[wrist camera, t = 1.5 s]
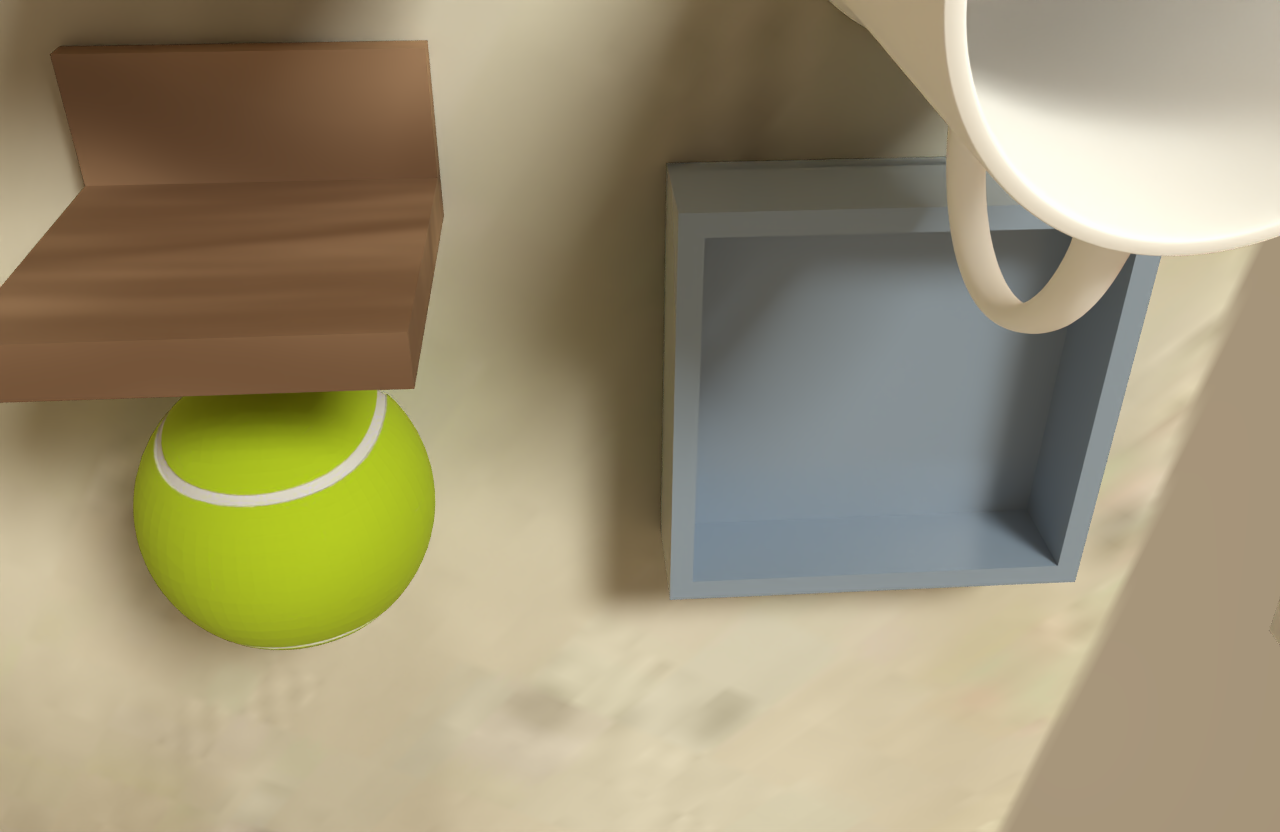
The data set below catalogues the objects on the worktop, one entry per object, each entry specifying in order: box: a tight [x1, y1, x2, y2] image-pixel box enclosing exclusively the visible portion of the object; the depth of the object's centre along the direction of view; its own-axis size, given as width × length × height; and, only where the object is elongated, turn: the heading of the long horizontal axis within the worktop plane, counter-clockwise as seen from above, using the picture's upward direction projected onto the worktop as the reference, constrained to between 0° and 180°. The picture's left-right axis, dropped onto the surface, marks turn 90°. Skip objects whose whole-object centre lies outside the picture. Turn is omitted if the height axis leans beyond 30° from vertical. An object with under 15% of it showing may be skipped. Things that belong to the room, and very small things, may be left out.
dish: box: [661, 157, 1161, 600], centre depth 31 cm, size 11×11×3 cm
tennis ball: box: [133, 390, 435, 650], centre depth 29 cm, size 7×7×7 cm
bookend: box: [0, 40, 444, 403], centre depth 24 cm, size 4×8×8 cm, turn 90°
